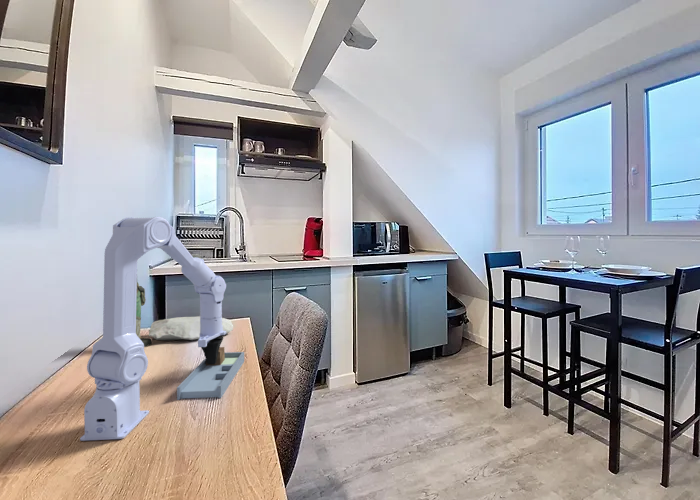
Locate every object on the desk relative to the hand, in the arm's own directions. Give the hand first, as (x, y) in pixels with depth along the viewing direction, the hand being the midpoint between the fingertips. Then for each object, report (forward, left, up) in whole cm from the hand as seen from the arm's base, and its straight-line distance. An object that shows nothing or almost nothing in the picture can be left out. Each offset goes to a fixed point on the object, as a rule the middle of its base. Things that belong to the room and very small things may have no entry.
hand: (211, 363), depth 91 cm
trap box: (-4, -2, -3) cm, 5 cm away
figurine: (+24, +36, -3) cm, 44 cm away
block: (+3, 0, -1) cm, 4 cm away
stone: (+37, +20, -3) cm, 42 cm away
